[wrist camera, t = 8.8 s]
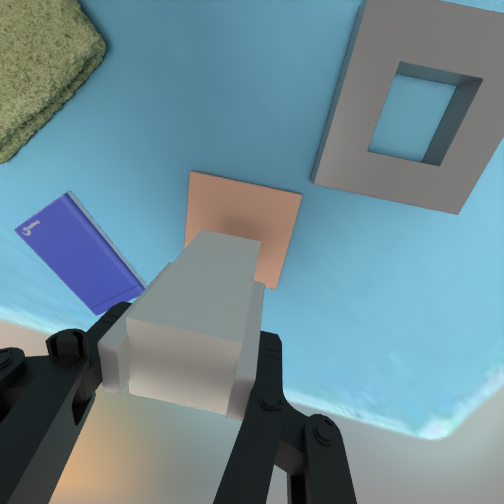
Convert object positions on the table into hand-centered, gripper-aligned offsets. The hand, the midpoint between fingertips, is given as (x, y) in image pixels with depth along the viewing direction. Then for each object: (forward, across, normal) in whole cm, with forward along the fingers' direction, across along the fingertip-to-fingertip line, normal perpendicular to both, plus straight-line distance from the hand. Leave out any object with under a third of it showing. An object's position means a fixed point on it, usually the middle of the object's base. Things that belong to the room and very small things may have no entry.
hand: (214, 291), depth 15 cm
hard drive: (+10, -16, -6) cm, 20 cm away
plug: (+4, 0, 0) cm, 4 cm away
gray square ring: (+10, +11, +12) cm, 19 cm away
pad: (+10, 0, 0) cm, 10 cm away
